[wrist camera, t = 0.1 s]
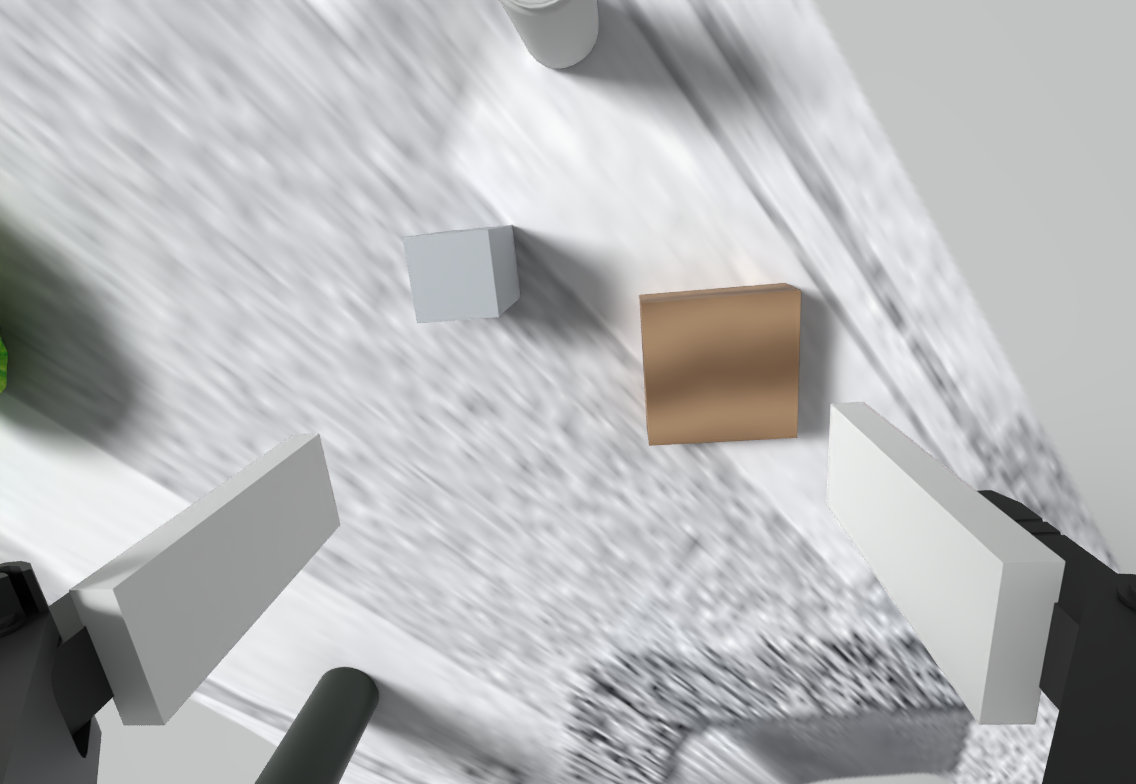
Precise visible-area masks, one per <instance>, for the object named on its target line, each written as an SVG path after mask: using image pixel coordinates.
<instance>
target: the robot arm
mask: <svg viewBox="0 0 1136 784" xmlns="http://www.w3.org/2000/svg"><path fill="white" fill-rule="evenodd" d="M826 506H827V507H828V508H829V510H830V511H831V513H832V514H833V516H834V517H835V518H836V520H837V521H838V523H839V524H840V526H841V527H842V528H843V530H844V531H845V533H846V534H847V536H848V537H849V538H850V540H851V541H852V543H853V544H854V546H855V547H856V549H857V550H858V551H859V553H860V554H861V556H862V557H863V559H864V560H865V561H866V563H867V564H868V566H869V567H870V569H871V570H872V571H873V573H874V574H875V576H876V577H877V579H878V580H879V581H880V583H881V584H882V586H883V587H884V589H885V590H886V592H887V593H888V594H889V596H890V597H891V599H892V600H893V602H894V603H895V604H896V606H897V607H898V609H899V610H900V612H901V613H902V614H903V616H904V617H905V619H906V620H907V622H908V623H909V624H910V626H911V627H912V629H913V630H914V632H915V633H916V635H917V636H918V637H919V639H920V640H921V642H922V643H923V645H924V646H925V647H926V649H927V650H928V652H929V653H930V655H931V656H932V657H933V659H934V660H935V662H936V663H937V665H938V666H939V667H940V669H941V670H942V672H943V673H944V675H945V676H946V678H947V679H948V680H949V682H950V683H951V685H952V686H953V688H954V689H955V690H956V692H957V693H958V695H959V696H960V698H961V699H962V700H963V702H964V703H965V705H966V706H967V708H968V709H969V710H970V712H971V713H972V715H973V716H974V718H975V719H976V720H977V722H978V723H979V724H1035V722H1036V717H1037V712H1038V706H1039V701H1040V695H1041V690H1042V691H1043V692H1044V693H1045V695H1046V696H1047V697H1048V698H1049V699H1050V700H1051V701H1052V703H1053V704H1054V705H1055V706H1056V707H1057V708H1058V709H1059V714H1058V718H1057V722H1056V726H1055V731H1054V735H1053V739H1052V743H1051V748H1050V752H1049V756H1048V760H1047V765H1046V769H1045V773H1044V777H1043V782H1042V784H1136V575H1135V574H1117V573H1116V572H1114V571H1113V570H1112V569H1110V568H1109V567H1108V566H1106V565H1105V564H1104V563H1102V562H1101V561H1099V560H1098V559H1097V558H1095V557H1094V556H1093V555H1091V554H1090V553H1089V552H1087V551H1086V550H1084V549H1083V548H1082V547H1080V546H1079V545H1078V544H1076V543H1075V542H1074V541H1072V540H1071V539H1069V538H1068V537H1067V536H1065V535H1061V534H1060V531H1059V530H1057V529H1056V528H1054V527H1053V526H1052V525H1050V524H1049V523H1048V522H1043V520H1042V518H1041V517H1039V516H1038V515H1037V514H1035V513H1034V512H1033V511H1031V510H1030V509H1029V508H1027V507H1026V506H1024V505H1023V504H1022V503H1020V502H1018V501H1015V500H1013V499H1011V498H1008V497H1006V496H1004V495H1001V494H999V493H997V492H994V491H992V490H984V491H976V490H975V489H973V488H972V487H971V486H970V485H968V484H967V483H966V482H965V481H963V480H962V479H961V478H959V477H958V476H957V475H956V474H954V473H953V472H952V471H951V470H949V469H948V468H947V467H946V466H944V465H943V464H942V463H941V462H939V461H938V460H937V459H935V458H934V457H933V456H932V455H930V454H929V453H928V452H927V451H925V450H924V449H923V448H922V447H920V446H919V445H918V444H917V443H915V442H914V441H913V440H911V439H910V438H909V437H908V436H906V435H905V434H904V433H903V432H901V431H900V430H899V429H898V428H896V427H895V426H894V425H892V424H891V423H890V422H889V421H887V420H886V419H885V418H884V417H882V416H881V415H880V414H879V413H877V412H876V411H875V410H874V409H872V408H871V407H870V406H868V405H867V404H866V403H865V402H852V403H835V404H831V411H830V433H829V456H828V478H827V501H826ZM339 526H340V520H339V516H338V512H337V508H336V503H335V499H334V495H333V491H332V486H331V482H330V478H329V474H328V469H327V465H326V461H325V457H324V452H323V448H322V444H321V439H320V435H319V434H302V435H292V436H290V437H289V438H287V439H286V440H284V441H283V442H281V443H280V444H279V445H277V446H276V447H274V448H273V449H271V450H270V451H268V452H267V453H266V454H264V455H263V456H261V457H260V458H258V459H257V460H256V461H254V462H253V463H251V464H250V465H248V466H247V467H245V468H244V469H243V470H241V471H240V472H238V473H237V474H235V475H234V476H233V477H231V478H230V479H228V480H227V481H225V482H224V483H222V484H221V485H220V486H218V487H217V488H215V489H214V490H212V491H211V492H210V493H208V494H207V495H205V496H204V497H202V498H201V499H199V500H198V501H197V502H195V503H194V504H192V505H191V506H189V507H188V508H186V509H185V510H184V511H182V512H181V513H179V514H178V515H176V516H175V517H174V518H172V519H171V520H169V521H168V522H166V523H165V524H163V525H162V526H161V527H159V528H158V529H156V530H155V531H153V532H152V533H151V534H149V535H148V536H146V537H145V538H143V539H142V540H140V541H139V542H138V543H136V544H135V545H133V546H132V547H130V548H129V549H128V550H126V551H125V552H123V553H122V554H120V555H119V556H117V557H116V558H115V559H113V560H112V561H110V562H109V563H107V564H106V565H104V566H103V567H102V568H100V569H99V570H97V571H96V572H94V573H93V574H92V575H90V576H89V577H87V578H86V579H84V580H83V581H81V582H80V583H79V584H77V585H76V586H74V587H73V588H71V589H70V590H69V593H67V594H66V595H64V596H63V597H62V598H60V599H59V600H57V601H56V602H54V603H53V604H52V605H50V606H48V604H47V602H46V599H45V597H44V595H43V592H42V590H41V588H40V585H39V583H38V580H37V578H36V576H35V573H34V571H33V569H32V566H31V564H30V563H27V562H23V561H17V562H7V563H2V564H0V784H97V775H98V765H99V753H100V743H101V730H100V727H99V725H98V722H97V720H96V718H95V714H96V713H97V712H98V711H99V710H100V709H101V708H102V707H103V706H104V705H105V704H106V703H107V702H108V701H109V700H110V699H111V698H112V697H113V700H114V702H115V704H116V707H117V710H118V712H119V715H120V717H121V719H122V722H123V724H124V725H165V724H166V723H167V722H168V721H169V719H170V718H171V717H172V716H173V715H174V714H175V713H176V712H177V710H178V709H179V708H180V707H181V706H182V705H183V703H184V702H185V701H186V700H187V699H188V698H189V697H190V696H191V694H192V693H193V692H194V691H195V690H196V689H197V688H198V686H199V685H200V684H201V683H202V682H203V681H204V680H205V678H206V677H207V676H208V675H209V674H210V673H211V672H212V671H213V669H214V668H215V667H216V666H217V665H218V664H219V663H220V661H221V660H222V659H223V658H224V657H225V656H226V655H227V653H228V652H229V651H230V650H231V649H232V648H233V647H234V645H235V644H236V643H237V642H238V641H239V640H240V639H241V638H242V636H243V635H244V634H245V633H246V632H247V631H248V630H249V628H250V627H251V626H252V625H253V624H254V623H255V622H256V620H257V619H258V618H259V617H260V616H261V615H262V614H263V612H264V611H265V610H266V609H267V608H268V607H269V606H270V604H271V603H272V602H273V601H274V600H275V599H276V598H277V597H278V595H279V594H280V593H281V592H282V591H283V590H284V589H285V587H286V586H287V585H288V584H289V583H290V582H291V581H292V579H293V578H294V577H295V576H296V575H297V574H298V573H299V571H300V570H301V569H302V568H303V567H304V566H305V565H306V564H307V562H308V561H309V560H310V559H311V558H312V557H313V556H314V554H315V553H316V552H317V551H318V550H319V549H320V548H321V546H322V545H323V544H324V543H325V542H326V541H327V540H328V538H329V537H330V536H331V535H332V534H333V533H334V532H335V530H336V529H337V528H338V527H339Z"/></svg>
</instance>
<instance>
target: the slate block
mask: <svg viewBox="0 0 1136 784" xmlns="http://www.w3.org/2000/svg"><path fill="white" fill-rule="evenodd" d="M403 243H404V249H405V255H406V261H407V267H408V273H409V279H410V284H411V290H412V296H413V302H414V308H415V314H416V320H417V323H428V322H441V321H454V320H467V319H481V318H494V317H500V316H501V315H502V314H503V313H504V312H505V311H506V310H507V309H508V308H509V307H510V306H511V305H513V304H514V303H515V302H516V301H517V300H518V299H519V298H520V297H521V296H520V287H519V279H518V270H517V261H516V252H515V244H514V235H513V226H512V225H509V226H498V227H487V228H476V229H466V230H455V231H444V232H437V233H430V234H423V235H416V236H408V237H403Z"/></svg>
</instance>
